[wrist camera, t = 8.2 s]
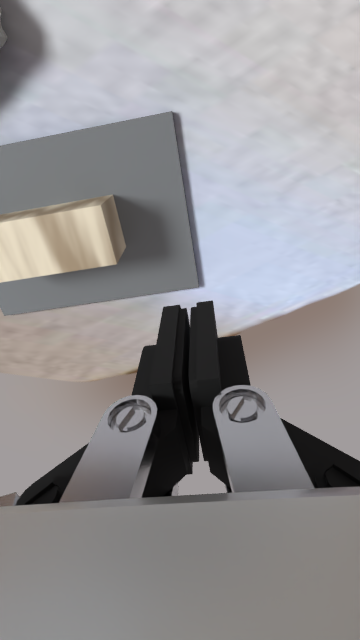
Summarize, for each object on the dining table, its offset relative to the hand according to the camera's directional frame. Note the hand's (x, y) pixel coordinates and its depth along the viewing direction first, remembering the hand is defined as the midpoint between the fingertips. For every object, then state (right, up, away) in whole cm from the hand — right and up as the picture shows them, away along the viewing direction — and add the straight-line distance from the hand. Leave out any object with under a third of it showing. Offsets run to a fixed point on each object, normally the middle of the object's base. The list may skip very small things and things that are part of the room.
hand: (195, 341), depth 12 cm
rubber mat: (-11, +10, +22) cm, 26 cm away
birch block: (-6, +9, +18) cm, 21 cm away
